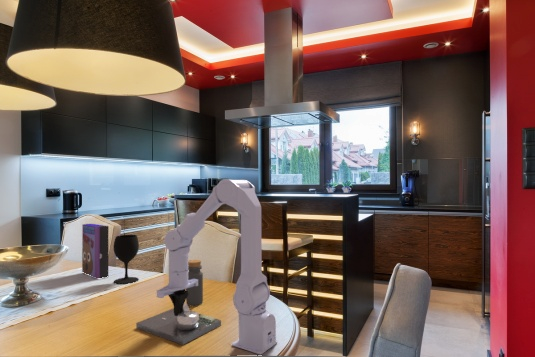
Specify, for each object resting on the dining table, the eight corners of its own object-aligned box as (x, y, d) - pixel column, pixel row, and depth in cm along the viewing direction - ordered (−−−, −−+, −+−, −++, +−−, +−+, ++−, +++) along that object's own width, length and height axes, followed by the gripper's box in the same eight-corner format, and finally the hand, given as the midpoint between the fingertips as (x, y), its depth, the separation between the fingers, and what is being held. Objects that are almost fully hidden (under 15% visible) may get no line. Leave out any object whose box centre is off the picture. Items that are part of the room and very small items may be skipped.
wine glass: (136, 276, 157) (136, 233, 157) (140, 281, 148) (140, 236, 148) (112, 280, 151) (112, 235, 152) (115, 285, 143) (115, 238, 143)
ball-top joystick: (200, 327, 95) (200, 314, 95) (178, 331, 93) (178, 318, 93) (193, 312, 106) (193, 301, 107) (173, 315, 104) (173, 303, 104)
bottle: (195, 299, 124) (195, 258, 125) (206, 302, 121) (206, 260, 121) (182, 303, 120) (182, 261, 120) (193, 307, 116) (193, 263, 117)
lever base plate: (221, 325, 101) (221, 316, 101) (182, 345, 88) (182, 335, 88) (175, 311, 112) (175, 304, 112) (136, 328, 99) (136, 319, 99)
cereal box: (82, 273, 164) (82, 224, 165) (92, 271, 168) (92, 223, 168) (97, 279, 153) (97, 226, 153) (108, 277, 156) (108, 225, 157)
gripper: (187, 263, 109) (187, 305, 109) (149, 273, 97) (149, 320, 97) (203, 266, 105) (203, 310, 105) (166, 276, 93) (165, 326, 93)
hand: (178, 315), depth 101 cm, fingers closed, pressing on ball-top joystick
